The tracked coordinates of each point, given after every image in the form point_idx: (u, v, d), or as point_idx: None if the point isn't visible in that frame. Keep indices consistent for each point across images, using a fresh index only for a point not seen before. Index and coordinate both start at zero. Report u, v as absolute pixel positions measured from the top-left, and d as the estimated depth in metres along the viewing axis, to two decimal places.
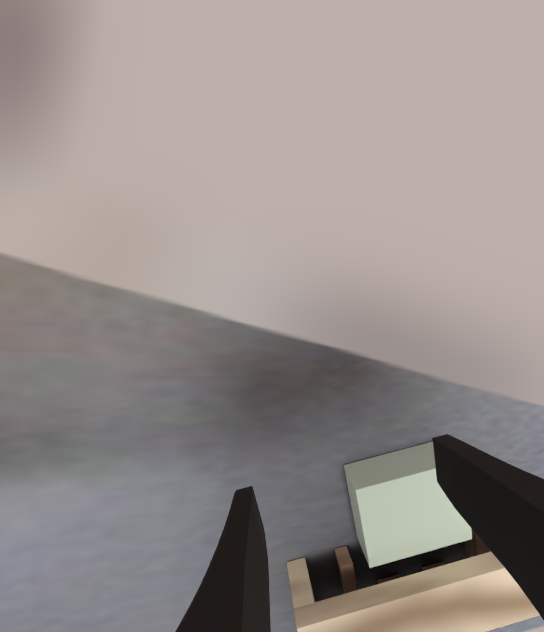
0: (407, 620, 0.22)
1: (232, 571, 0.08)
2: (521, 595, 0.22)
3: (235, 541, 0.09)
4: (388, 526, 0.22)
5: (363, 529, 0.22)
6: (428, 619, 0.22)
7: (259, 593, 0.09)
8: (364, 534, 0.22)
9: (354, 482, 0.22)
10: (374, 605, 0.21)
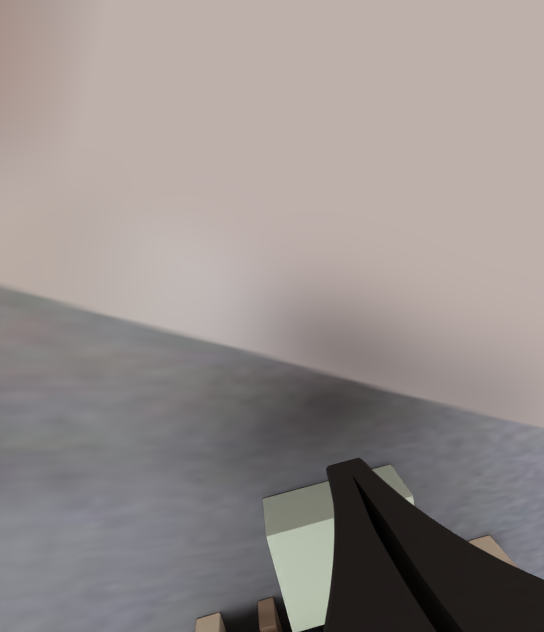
0: None
1: (364, 534, 0.08)
2: None
3: (353, 509, 0.09)
4: (314, 581, 0.17)
5: (280, 585, 0.17)
6: None
7: None
8: (282, 592, 0.17)
9: (268, 524, 0.17)
10: None
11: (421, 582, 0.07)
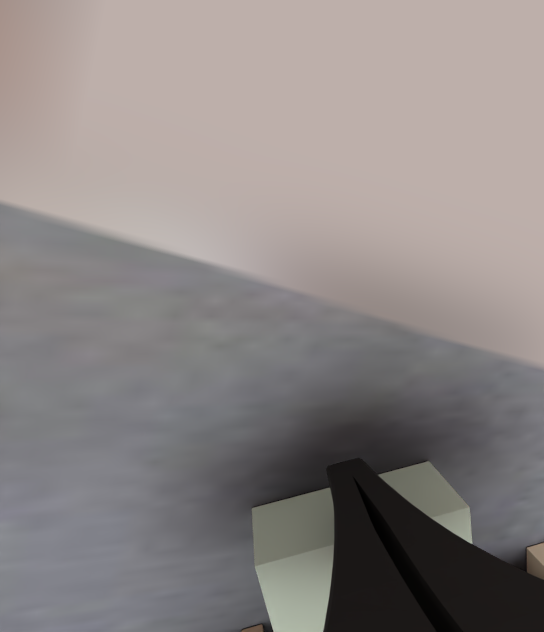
0: None
1: (364, 534, 0.08)
2: None
3: (353, 509, 0.09)
4: None
5: None
6: None
7: None
8: None
9: (258, 547, 0.12)
10: None
11: (421, 582, 0.07)
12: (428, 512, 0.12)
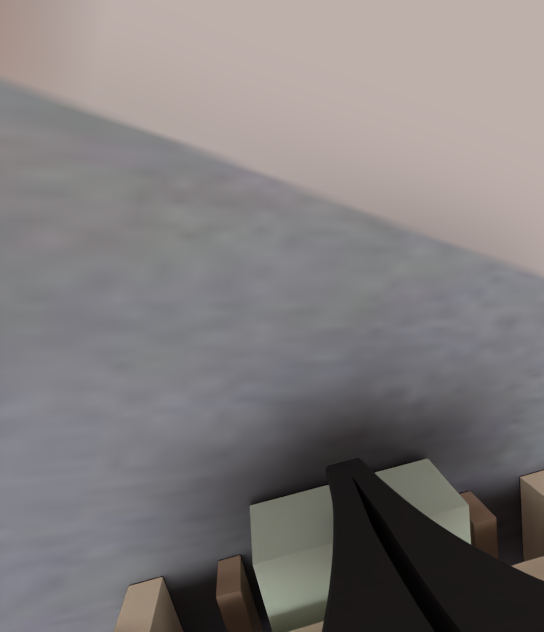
0: None
1: (363, 534, 0.08)
2: None
3: (352, 509, 0.09)
4: None
5: None
6: None
7: None
8: None
9: (256, 546, 0.12)
10: None
11: (420, 582, 0.07)
12: (427, 510, 0.11)
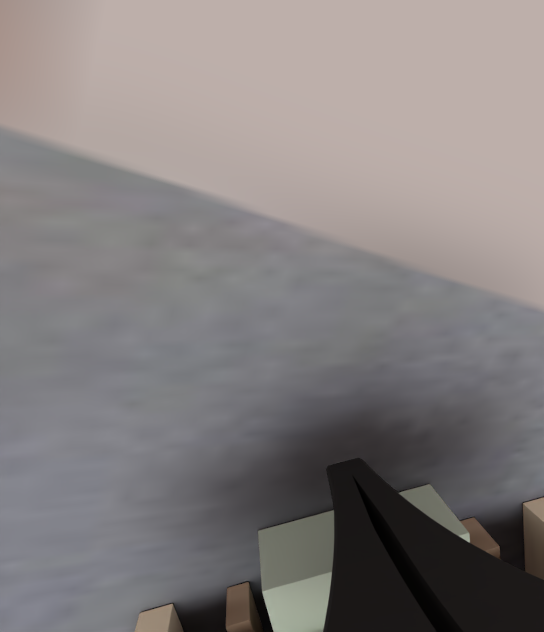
0: None
1: (364, 534, 0.08)
2: None
3: (353, 509, 0.09)
4: None
5: None
6: None
7: None
8: None
9: (264, 572, 0.12)
10: None
11: (421, 582, 0.07)
12: None
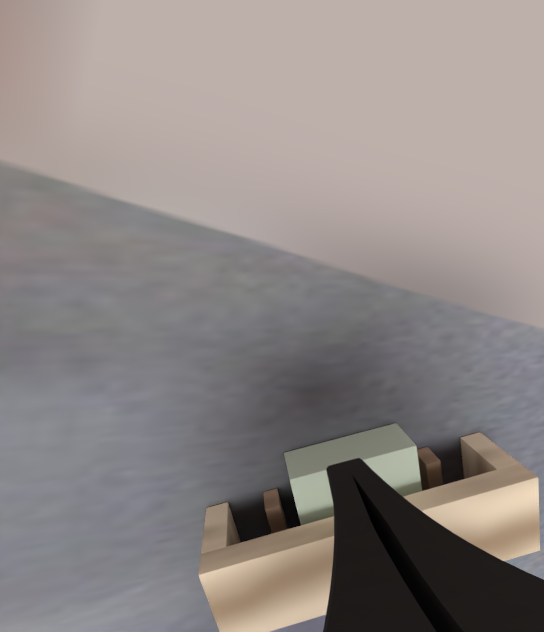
0: None
1: (364, 534, 0.08)
2: (476, 536, 0.19)
3: (353, 509, 0.09)
4: None
5: (301, 524, 0.20)
6: None
7: None
8: None
9: (290, 471, 0.19)
10: (293, 547, 0.17)
11: (421, 582, 0.07)
12: (392, 449, 0.19)
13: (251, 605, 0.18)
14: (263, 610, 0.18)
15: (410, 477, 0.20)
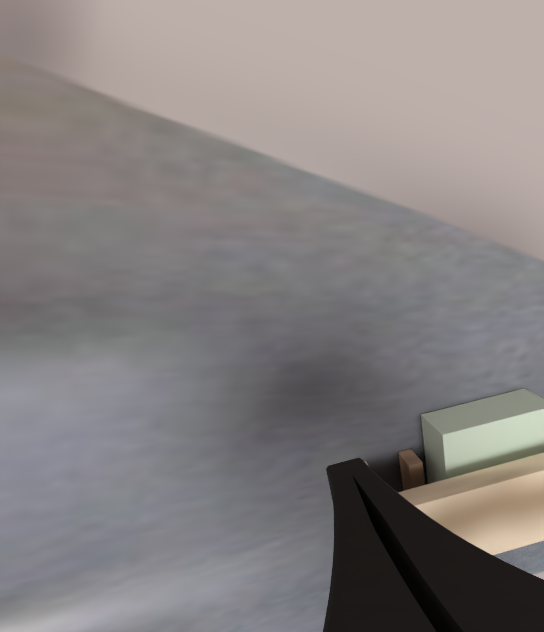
0: (491, 513, 0.19)
1: (364, 534, 0.08)
2: None
3: (353, 509, 0.09)
4: None
5: (447, 478, 0.21)
6: (514, 513, 0.20)
7: None
8: None
9: (438, 428, 0.21)
10: (456, 494, 0.19)
11: (421, 582, 0.07)
12: (533, 408, 0.21)
13: None
14: None
15: None
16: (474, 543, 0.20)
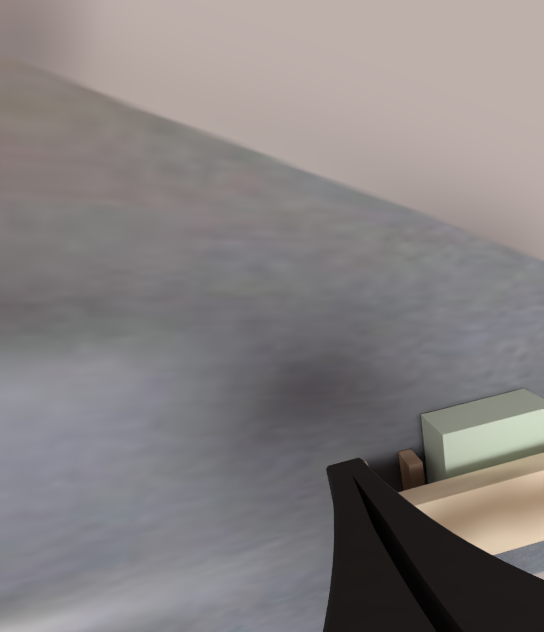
0: (491, 513, 0.19)
1: (364, 534, 0.08)
2: None
3: (353, 509, 0.09)
4: None
5: (447, 478, 0.21)
6: (514, 513, 0.20)
7: None
8: None
9: (438, 428, 0.21)
10: (456, 494, 0.19)
11: (421, 582, 0.07)
12: (533, 408, 0.21)
13: None
14: None
15: None
16: (474, 543, 0.20)
